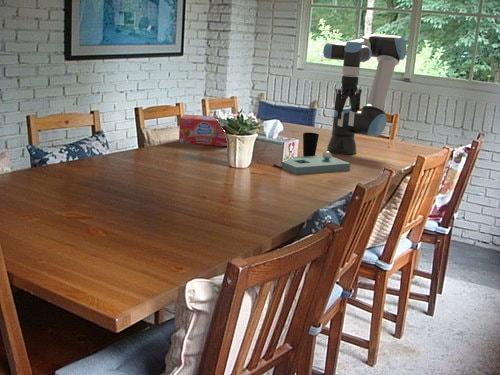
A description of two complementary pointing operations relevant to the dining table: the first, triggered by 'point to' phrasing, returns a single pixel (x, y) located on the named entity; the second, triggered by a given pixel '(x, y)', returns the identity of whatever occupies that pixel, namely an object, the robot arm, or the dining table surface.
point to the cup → (310, 144)
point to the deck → (314, 164)
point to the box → (201, 131)
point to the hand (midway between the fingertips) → (345, 125)
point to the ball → (326, 155)
